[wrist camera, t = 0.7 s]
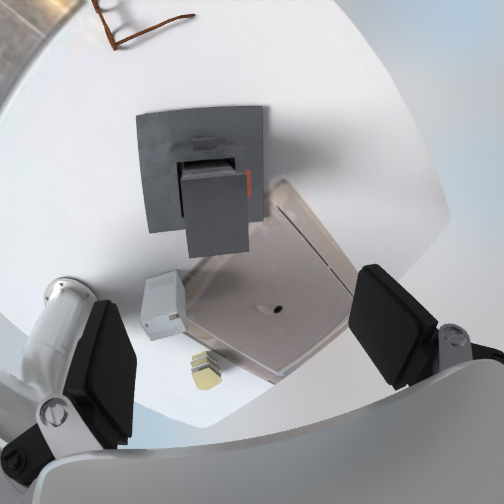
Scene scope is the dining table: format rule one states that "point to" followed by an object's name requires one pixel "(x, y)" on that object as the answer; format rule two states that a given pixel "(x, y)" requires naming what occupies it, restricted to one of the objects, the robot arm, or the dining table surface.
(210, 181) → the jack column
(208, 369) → the beige layered block
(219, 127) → the base
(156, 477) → the robot arm
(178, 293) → the skincare box
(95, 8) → the glasses
